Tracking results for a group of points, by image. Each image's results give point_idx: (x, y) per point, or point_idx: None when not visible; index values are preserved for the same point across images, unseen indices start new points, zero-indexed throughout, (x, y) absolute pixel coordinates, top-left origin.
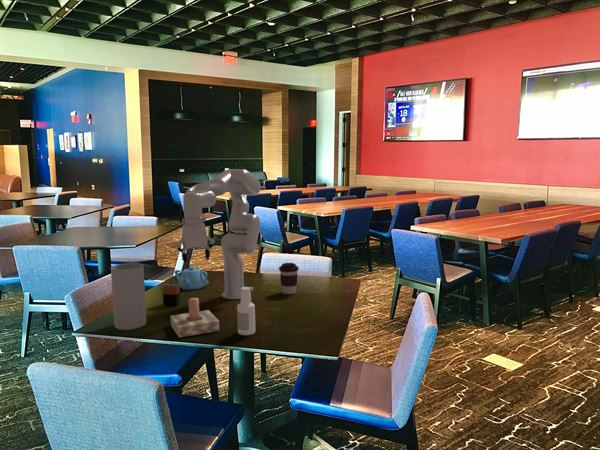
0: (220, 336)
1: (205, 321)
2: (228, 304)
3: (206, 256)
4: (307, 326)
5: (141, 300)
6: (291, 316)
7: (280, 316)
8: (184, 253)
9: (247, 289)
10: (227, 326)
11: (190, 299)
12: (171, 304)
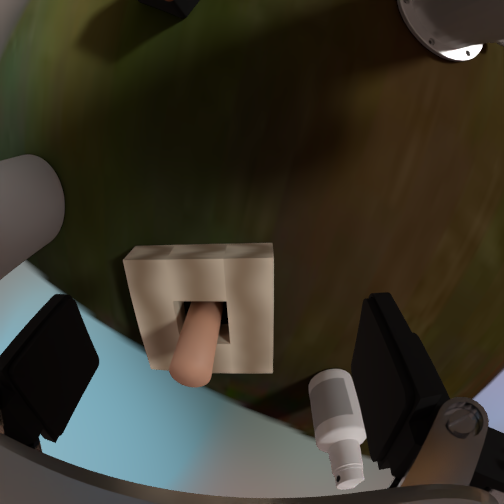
0: (261, 382)
1: (232, 362)
2: (398, 97)
3: (362, 372)
4: (449, 381)
5: (8, 269)
6: (475, 318)
7: (460, 309)
8: (37, 429)
9: (349, 488)
10: (305, 332)
11: (177, 371)
12: (164, 10)
